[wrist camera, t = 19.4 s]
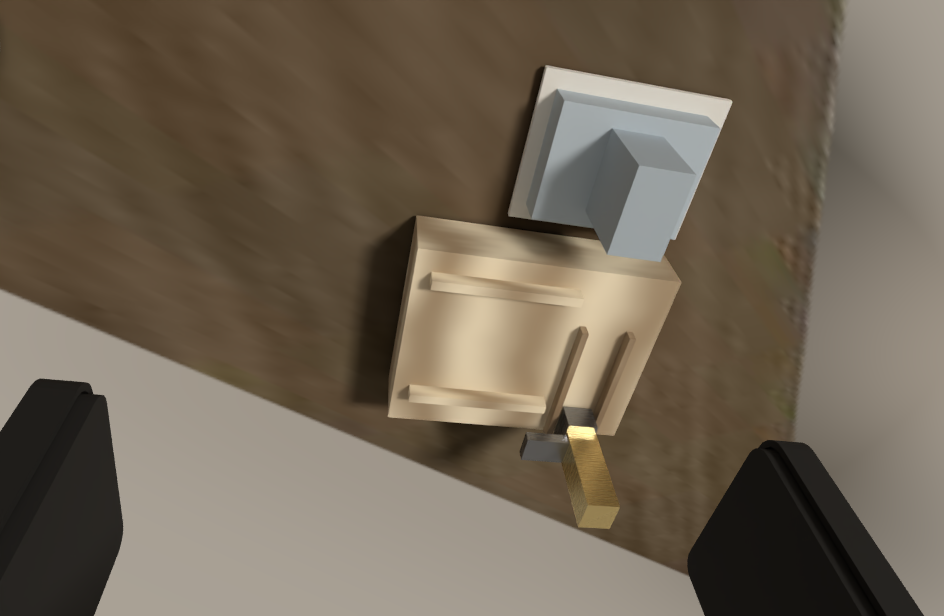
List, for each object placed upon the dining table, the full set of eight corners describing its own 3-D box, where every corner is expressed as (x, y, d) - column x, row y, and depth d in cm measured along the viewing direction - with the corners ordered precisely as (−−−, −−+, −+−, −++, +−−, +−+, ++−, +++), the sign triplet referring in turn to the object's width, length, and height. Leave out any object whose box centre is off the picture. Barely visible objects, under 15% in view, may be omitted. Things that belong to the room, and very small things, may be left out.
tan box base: (388, 377, 48) (387, 427, 44) (416, 215, 41) (418, 257, 37) (600, 397, 51) (617, 445, 47) (660, 249, 44) (687, 291, 40)
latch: (513, 434, 47) (531, 529, 40) (523, 402, 45) (544, 496, 39) (579, 440, 48) (607, 533, 41) (591, 409, 46) (622, 501, 40)
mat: (507, 213, 42) (508, 216, 41) (545, 65, 37) (546, 67, 36) (673, 236, 44) (675, 239, 43) (729, 99, 39) (732, 101, 38)
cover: (525, 203, 41) (547, 263, 35) (557, 88, 37) (586, 135, 31) (663, 224, 43) (704, 284, 37) (707, 116, 39) (760, 165, 33)
